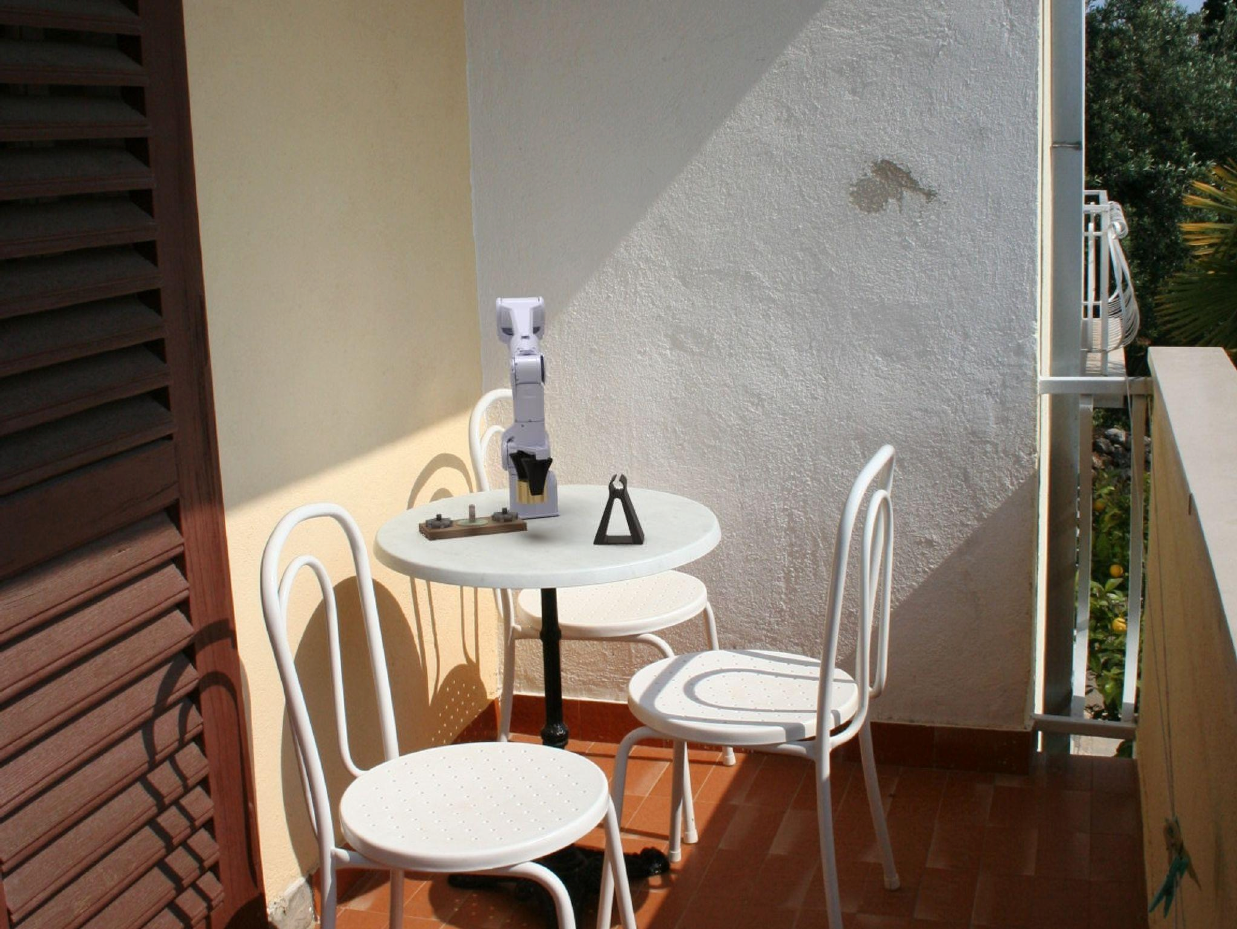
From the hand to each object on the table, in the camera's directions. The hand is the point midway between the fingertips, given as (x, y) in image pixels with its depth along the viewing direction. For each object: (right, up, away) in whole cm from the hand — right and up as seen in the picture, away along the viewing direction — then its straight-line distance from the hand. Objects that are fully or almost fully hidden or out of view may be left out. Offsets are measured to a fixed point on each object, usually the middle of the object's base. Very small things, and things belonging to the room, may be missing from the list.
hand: (531, 492), depth 230 cm
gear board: (-12, -8, +7) cm, 16 cm away
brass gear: (0, -2, 0) cm, 2 cm away
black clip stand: (+16, -9, -4) cm, 19 cm away
